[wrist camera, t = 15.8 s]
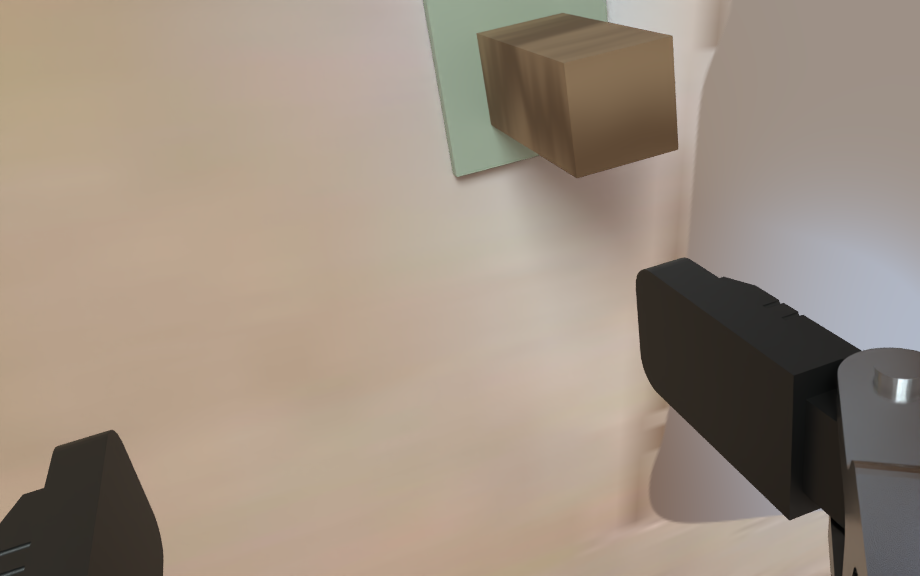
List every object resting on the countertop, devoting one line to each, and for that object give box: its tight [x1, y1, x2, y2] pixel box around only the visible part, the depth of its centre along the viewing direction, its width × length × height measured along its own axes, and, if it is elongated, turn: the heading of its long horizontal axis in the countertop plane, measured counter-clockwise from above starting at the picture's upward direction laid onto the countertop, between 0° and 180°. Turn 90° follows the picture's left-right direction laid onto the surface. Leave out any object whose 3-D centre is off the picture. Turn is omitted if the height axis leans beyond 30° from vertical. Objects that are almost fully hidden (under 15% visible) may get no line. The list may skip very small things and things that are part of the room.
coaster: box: [423, 0, 608, 177], centre depth 40 cm, size 9×9×1 cm
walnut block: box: [476, 13, 678, 178], centre depth 35 cm, size 4×4×10 cm
